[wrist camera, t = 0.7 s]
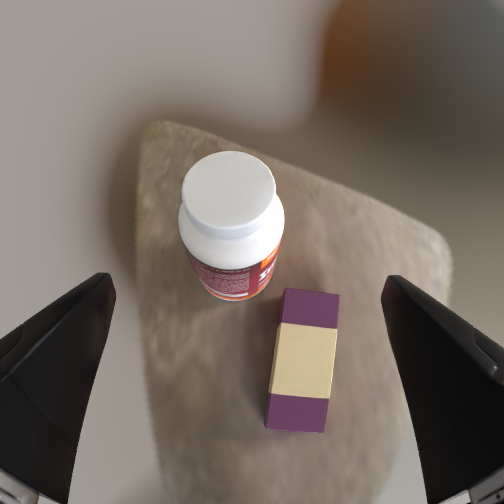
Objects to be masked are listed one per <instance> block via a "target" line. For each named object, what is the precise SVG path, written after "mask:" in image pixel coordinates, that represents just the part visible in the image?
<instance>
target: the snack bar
mask: <svg viewBox="0 0 504 504" xmlns="http://www.w3.org/2000/svg"><path fill="white" fill-rule="evenodd" d="M339 298H340V295H337V294H330V293H322V292H314V291H307V290H299V289H292V288H285V290H284V293H283V295H282V299H281V307H280V314H279V322H278V328H277V335H276V342H275V349H274V356H273V363H272V370H271V377H270V383H269V390H268V391H269V392H268V398H267V404H266V411H265V417H264V425H265V428H266V429H274V430H284V431H295V432H310V433H324V428H325V422H326V416H327V409H328V402H329V397H330V390H331V382H332V374H333V366H334V357H335V348H336V338H337V324H338V312H339Z"/></svg>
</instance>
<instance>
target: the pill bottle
mask: <svg viewBox="0 0 504 504" xmlns="http://www.w3.org/2000/svg"><path fill="white" fill-rule="evenodd" d="M182 200H183V202H182V204H181V207H180V210H179V217H178V224H179V231H180V234H181V238H182V241H183V243H184V245H185V247H186V250H187V252H188V254H189V257H190V259H191V261H192V264H193V266H194V268H195V271H196V273H197V275H198V277H199V279H200V281H201V283H202V284H203V286H204V287H205V288H206V289H207V290H208V291H209V292H210V293H211V294H213V295H214V296H216V297H218V298H221V299H224V300H229V301H241V300H245V299H249V298H251V297H253V296H255V295H257V294H258V293H260V292H261V291H262V290H263V289H264V288H265V287H266V285H267V284H268V282H269V281H270V279H271V276H272V274H273V270H274V266H275V262H276V257H277V253H278V250H279V245H280V241H281V237H282V233H283V228H284V211H283V207H282V204H281V202H280V199H279V197H278V196H277V194H276V186H275V181H274V177H273V175H272V173H271V171H270V170H269V168H268V167H267V166H266V165H265V164H264V163H263V162H262V161H260V160H259V159H257V158H256V157H254V156H252V155H249V154H246V153H243V152H236V151H225V152H218V153H214V154H211V155H209V156H206V157H204V158H202V159H201V160H199V161H198V162H197V163H196V164H194V165H193V166H192V167H191V169H190V170H189V171H188V173H187V174H186V176H185V178H184V181H183V184H182Z"/></svg>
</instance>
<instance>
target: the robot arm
mask: <svg viewBox="0 0 504 504" xmlns="http://www.w3.org/2000/svg"><path fill="white" fill-rule="evenodd" d="M115 301H116V291H115V288H114V285H113V281H112V278H111V275H110V274H109V273H96V274H95V275H93V276H92V277H90V278H89V279H87V280H86V281H84V282H83V283H81V284H80V285H78V286H77V287H75V288H73V289H72V290H70V291H69V292H67V293H66V294H64V295H63V296H61V297H60V298H58V299H57V300H56V301H54V302H53V303H51V304H50V305H48V306H47V307H46V308H44V309H42V310H41V311H40V312H38V313H37V314H35V315H34V316H32V317H31V318H30V319H28V320H27V321H25V322H24V323H23V324H21V325H20V326H18V327H17V328H16V329H14V330H13V331H11V332H10V333H9V334H7V335H6V336H4V337H3V338H1V339H0V504H37V503H38V499H39V495H40V496H42V497H45V498H47V499H49V500H52V501H54V502H56V503H59V504H67V503H68V498H69V491H70V485H71V478H72V473H73V468H74V463H75V457H76V452H77V450H76V449H77V447H78V442H79V438H80V433H81V429H82V425H83V421H84V417H85V412H86V409H87V404H88V401H89V397H90V393H91V390H92V386H93V383H94V379H95V376H96V372H97V369H98V366H99V362H100V359H101V356H102V353H103V350H104V347H105V344H106V340H107V337H108V333H109V328H110V323H111V319H112V314H113V310H114V306H115ZM381 304H382V308H383V313H384V317H385V322H386V327H387V332H388V336H389V341H390V344H391V347H392V351H393V354H394V357H395V360H396V364H397V367H398V371H399V374H400V378H401V381H402V385H403V388H404V392H405V396H406V400H407V404H408V407H409V411H410V415H411V420H412V424H413V428H414V432H415V437H416V441H417V446H418V451H419V457H420V462H421V467H422V472H423V478H424V483H425V490H426V496H427V503H428V504H442V503H444V502H447V501H449V500H452V499H454V498H456V497H458V496H461V495H463V494H465V493H467V492H468V493H469V497H470V501H471V502H469V503H467V504H504V348H503V347H502V346H500V345H499V344H497V343H496V342H494V341H493V340H491V339H490V338H489V337H487V336H486V335H484V334H483V333H482V332H480V331H479V330H478V329H476V328H474V327H473V326H472V325H471V324H469V323H468V322H467V321H465V320H464V319H462V318H461V317H460V316H458V315H457V314H456V313H454V312H453V311H451V310H450V309H448V308H447V307H446V306H444V305H443V304H441V303H440V302H438V301H437V300H436V299H434V298H433V297H431V296H430V295H428V294H427V293H425V292H424V291H422V290H421V289H419V288H418V287H417V286H415V285H414V284H412V283H411V282H409V281H408V280H406V279H405V278H403V277H402V276H400V275H390V276H388V277H387V279H386V282H385V285H384V288H383V291H382V295H381Z"/></svg>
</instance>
